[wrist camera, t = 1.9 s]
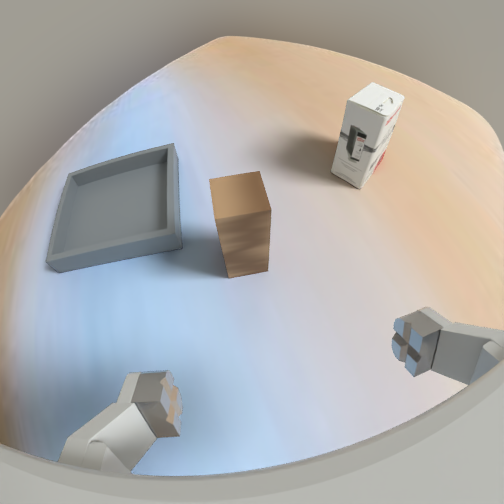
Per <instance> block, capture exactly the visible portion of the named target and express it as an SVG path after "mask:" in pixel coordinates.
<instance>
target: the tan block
mask: <svg viewBox="0 0 504 504" xmlns="http://www.w3.org/2000/svg"><path fill="white" fill-rule="evenodd" d="M209 182H210V189H211V196H212V203H213V210H214V217H215V222H216V227H217V231H218V235H219V240H220V244H221V248H222V252H223V256H224V260H225V265H226V269H227V273H228V277H229V278H234V277H240V276H245V275H250V274H256V273H261V272H266V271H268V263H269V245H270V226H271V207H270V204H269V200H268V197H267V194H266V191H265V187H264V184H263V181H262V178H261V174H260V171H257V172H250V173H244V174H238V175H232V176H226V177H220V178H214V179H209Z"/></svg>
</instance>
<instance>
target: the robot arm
mask: <svg viewBox="0 0 504 504" xmlns="http://www.w3.org/2000/svg"><path fill="white" fill-rule="evenodd" d="M393 329H394V330H395V331H396V333H395V335H394V337H393V338H392V350H393V353H394V355H395V357H396V358H397V359H398V360H399V361H402V362H405V368H406V369H407V370H408V371H409V372H410V373H411V375H412V376H413V377H415V376H418V375H420V374H422V373H424V372H426V371H428V370H432V371H434V372H437V373H439V374H442V375H444V376H447V377H449V378H452V379H454V380H457V381H460V382H462V383H465V384H467V385H468V386H467V387H465V388H464V389H462V390H461V391H459V392H458V393H456V394H455V395H453V396H451V397H450V398H448V399H447V400H445V401H443V402H442V403H440V404H438V405H436V406H435V407H433V408H431V409H429V410H428V411H426V412H424V413H422V414H420V415H418V416H416V417H414V418H413V419H411V420H409V421H407V422H405V423H402V424H400V425H398V426H396V427H394V428H392V429H390V430H387V431H385V432H383V433H380V434H378V435H376V436H373V437H371V438H368V439H366V440H363V441H360V442H358V443H355V444H352V445H350V446H347V447H344V448H341V449H338V450H335V451H331V452H328V453H325V454H322V455H318V456H315V457H311V458H307V459H303V460H299V461H295V462H291V463H286V464H282V465H277V466H272V467H266V468H261V469H255V470H248V471H241V472H233V473H224V474H212V475H196V476H150V475H134V474H132V473H131V470H132V469H133V468H134V467H135V465H136V464H137V463H138V462H139V461H140V459H141V458H142V457H143V456H144V454H145V453H146V452H147V451H148V449H149V448H150V447H151V446H152V444H153V443H154V442H155V441H156V439H157V438H161V437H177V436H180V430H181V421H180V419H179V416H180V415H181V413H182V409H183V405H182V398H181V394H180V392H179V389H178V388H177V387H176V386H174V385H173V382H174V378H173V376H172V374H171V372H170V371H169V370H162V371H148V372H133V373H129V374H127V376H126V378H125V381H124V384H123V386H122V389H121V392H120V394H119V397H118V400H117V402H116V403H112V404H111V405H109V406H108V407H107V408H106V409H104V410H103V411H102V412H100V413H99V414H98V415H97V416H95V417H94V418H93V419H91V420H90V421H89V422H87V423H86V424H85V425H83V426H82V427H81V428H80V429H78V430H77V431H76V432H74V433H73V434H72V435H70V436H69V437H68V438H67V441H66V443H65V445H64V448H63V450H62V453H61V455H60V458H59V460H58V462H55V461H52V460H48V459H44V458H41V457H37V456H34V455H31V454H28V453H25V452H22V451H19V450H16V449H14V448H11V447H8V446H6V445H3V444H1V443H0V504H504V331H503V330H498V329H491V328H485V327H479V326H474V325H468V324H462V323H456V322H455V323H451V322H450V321H449V320H447V319H446V318H444V317H443V316H441V315H440V314H439V313H437V312H436V311H434V310H433V309H431V308H430V307H424V308H422V309H419V310H417V311H416V312H413V313H411V314H408V315H405V316H402V317H400V318H397V319H396V320H395V322H394V328H393Z"/></svg>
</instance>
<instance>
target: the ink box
mask: <svg viewBox="0 0 504 504" xmlns="http://www.w3.org/2000/svg"><path fill="white" fill-rule="evenodd" d="M404 98H405V97H404V96H403V95H401V94H399V93H397V92H394V91H392V90H390V89H387V88H385V87H383V86H381V85H378V84H376V83H374V82H372V83H370V84H369V85H368V86H366V87H365V88H363V89H362V90H361V91H359V92H358V93H356V94H355V95H354V96H352V97H351V98H349V99H348V100H347V105H346V110H345V114H344V119H343V124H342V128H341V132H340V137H339V141H338V145H337V149H336V153H335V157H334V161H333V165H332V169H331V172H332V173H333V174H335V175H336V176H338V177H340V178H342V179H343V180H345V181H347V182H348V183H350V184H352V185H353V186H355V187H356V188H358V189H361V188H362V187H363V186H364V184H365V183H366V182H367V180H368V179H369V177H370V176H371V175H372V173H373V172H374V170H375V169H376V168H377V166H378V165H379V164H380V162H381V161H382V159H383V156H384V153H385V151H386V148H387V145H388V143H389V140H390V137H391V135H392V132H393V129H394V126H395V124H396V121H397V118H398V115H399V112H400V109H401V106H402V103H403V100H404Z"/></svg>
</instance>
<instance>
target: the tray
mask: <svg viewBox="0 0 504 504" xmlns="http://www.w3.org/2000/svg"><path fill="white" fill-rule="evenodd" d="M181 248H182V239H181V223H180V203H179V172H178V156H177V153H176V149H175V146H174V143H172V144H168V145H163V146H159V147H155V148H151V149H147V150H143V151H139V152H136V153H132V154H128V155H125V156H121V157H118V158H115V159H111V160H108V161H105V162H102V163H98V164H95V165H92V166H89V167H86V168H84V169H81V170H78V171H75V172H72V173H70V174H68V177H67V180H66V183H65V186H64V189H63V193H62V196H61V199H60V203H59V206H58V210H57V214H56V218H55V221H54V226H53V230H52V234H51V239H50V243H49V248H48V253H47V259H46V263H48V264H49V265H50V266H51V267H52V268H53V269H55V270H56V271H57V272H58V273H62V272H67V271H72V270H76V269H81V268H86V267H91V266H96V265H100V264H105V263H110V262H115V261H120V260H125V259H130V258H135V257H140V256H145V255H150V254H155V253H161V252H166V251H171V250H176V249H181Z"/></svg>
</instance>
